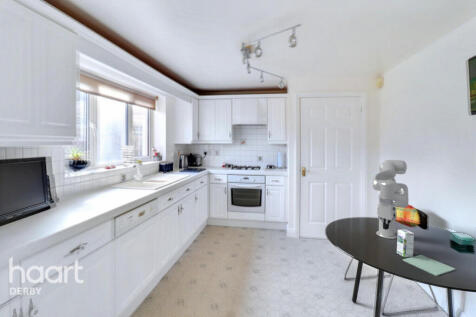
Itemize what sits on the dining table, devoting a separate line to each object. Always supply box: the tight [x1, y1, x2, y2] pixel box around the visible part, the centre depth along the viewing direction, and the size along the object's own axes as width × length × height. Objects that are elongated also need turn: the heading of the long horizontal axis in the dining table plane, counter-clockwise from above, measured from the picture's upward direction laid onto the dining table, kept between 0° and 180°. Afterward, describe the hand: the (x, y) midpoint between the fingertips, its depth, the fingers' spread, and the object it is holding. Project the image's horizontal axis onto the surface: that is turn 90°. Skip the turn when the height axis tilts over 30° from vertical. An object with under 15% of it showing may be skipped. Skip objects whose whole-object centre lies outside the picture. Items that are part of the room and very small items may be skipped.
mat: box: [402, 254, 456, 277], centre depth 119 cm, size 16×16×1 cm
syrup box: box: [396, 229, 415, 258], centre depth 130 cm, size 6×6×14 cm
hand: (385, 229), depth 141 cm, fingers closed
